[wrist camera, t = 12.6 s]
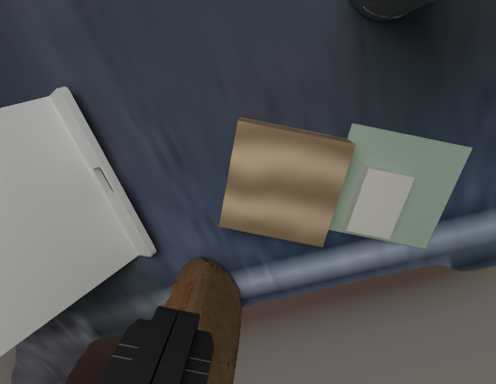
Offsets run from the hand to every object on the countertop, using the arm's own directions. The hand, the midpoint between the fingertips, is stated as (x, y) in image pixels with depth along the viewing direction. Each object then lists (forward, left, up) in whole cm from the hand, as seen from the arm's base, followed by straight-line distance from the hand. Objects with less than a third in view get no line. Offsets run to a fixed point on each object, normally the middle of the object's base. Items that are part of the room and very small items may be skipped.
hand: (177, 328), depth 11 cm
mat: (+2, +21, -31) cm, 37 cm away
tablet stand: (+12, -24, -32) cm, 41 cm away
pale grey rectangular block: (+3, +19, -29) cm, 35 cm away
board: (+3, +6, -31) cm, 32 cm away
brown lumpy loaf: (+22, -1, -31) cm, 38 cm away
